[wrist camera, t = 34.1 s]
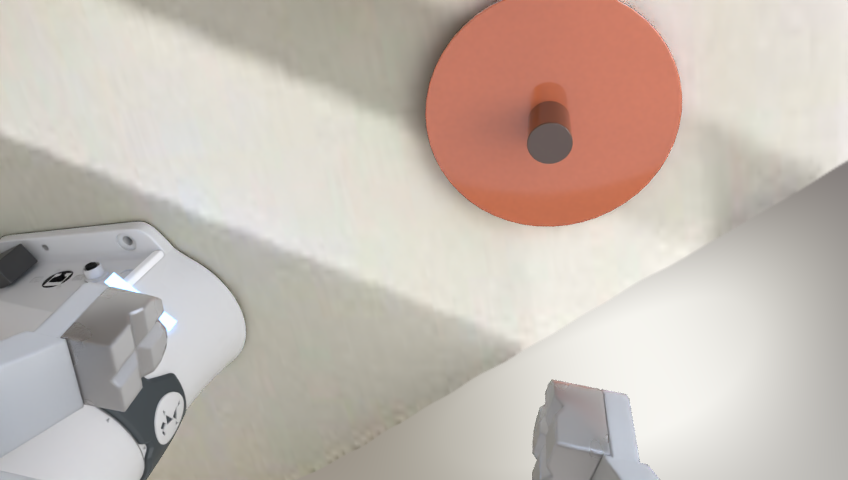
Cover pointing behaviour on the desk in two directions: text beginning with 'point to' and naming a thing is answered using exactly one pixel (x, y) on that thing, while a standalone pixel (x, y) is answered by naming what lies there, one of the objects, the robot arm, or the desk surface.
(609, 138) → the lid
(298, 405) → the desk surface
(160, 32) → the desk surface
